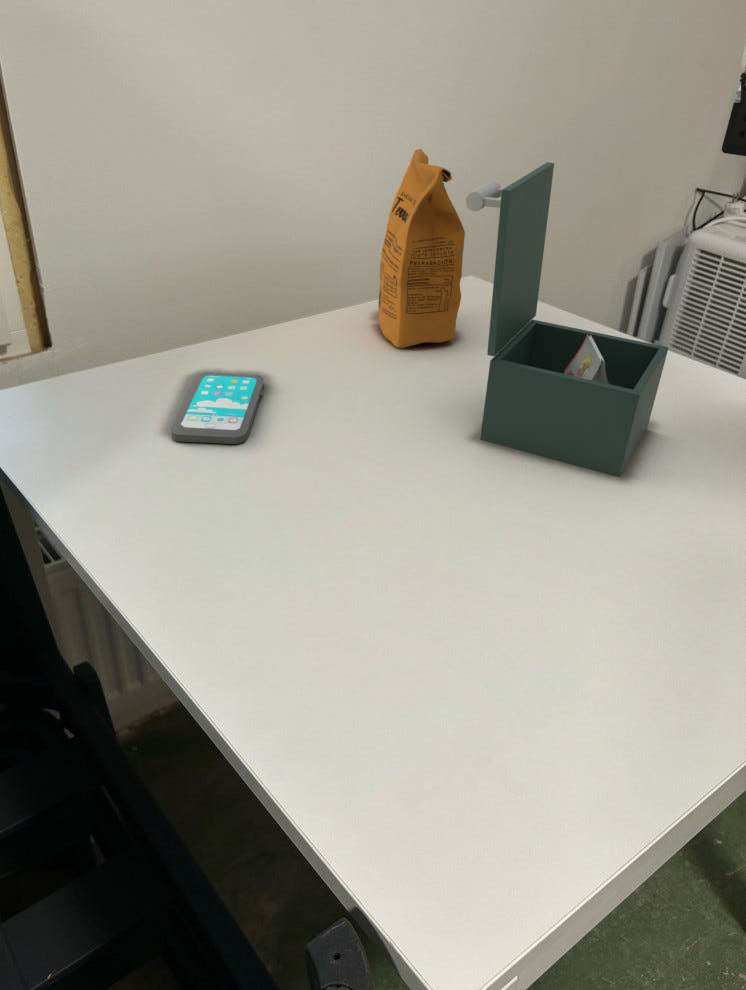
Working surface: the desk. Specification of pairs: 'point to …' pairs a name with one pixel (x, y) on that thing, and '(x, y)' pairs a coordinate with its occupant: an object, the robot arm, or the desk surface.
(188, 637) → the desk surface
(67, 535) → the desk surface
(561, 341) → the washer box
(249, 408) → the smartphone
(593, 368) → the white paper food bag
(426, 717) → the desk surface
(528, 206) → the green box lid
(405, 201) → the coffee package
